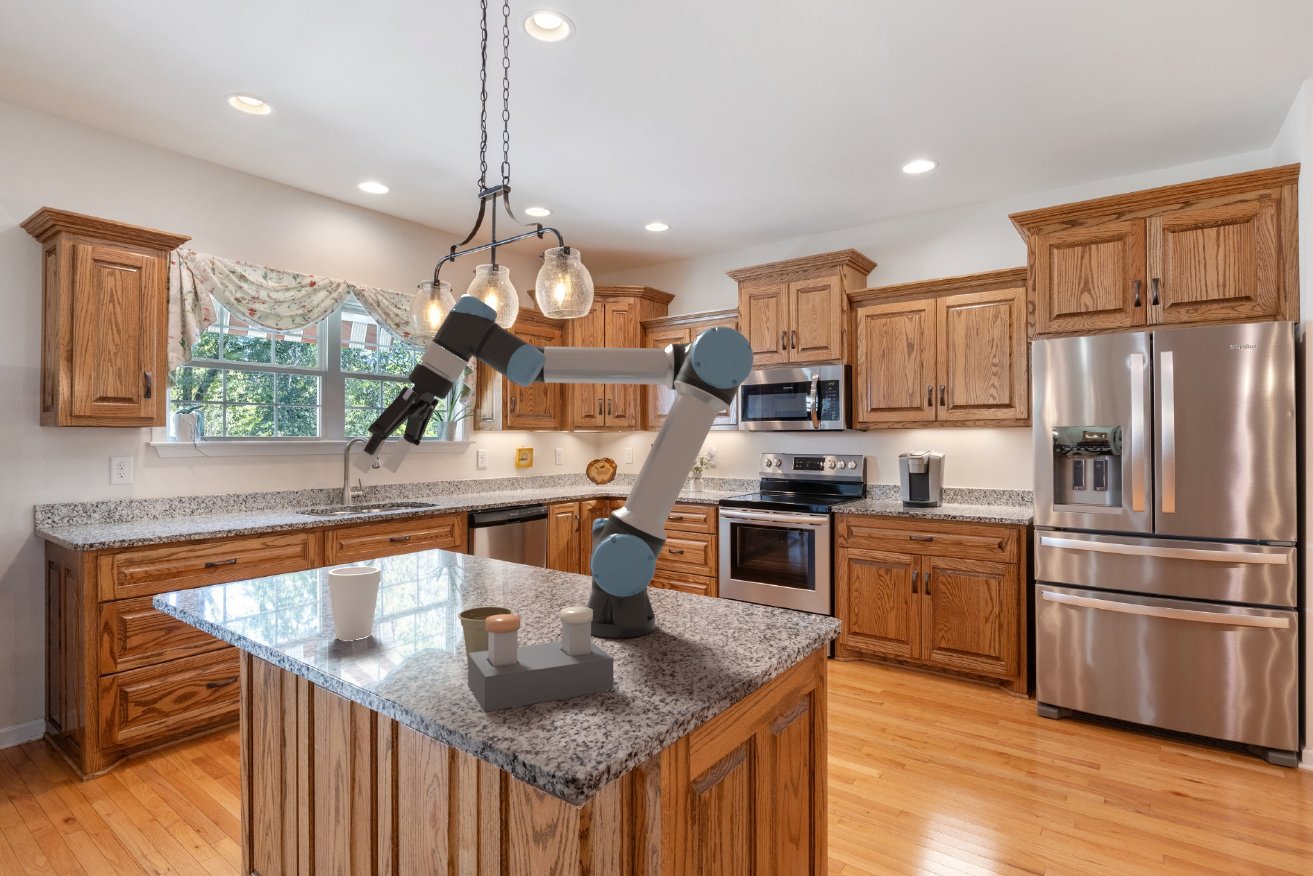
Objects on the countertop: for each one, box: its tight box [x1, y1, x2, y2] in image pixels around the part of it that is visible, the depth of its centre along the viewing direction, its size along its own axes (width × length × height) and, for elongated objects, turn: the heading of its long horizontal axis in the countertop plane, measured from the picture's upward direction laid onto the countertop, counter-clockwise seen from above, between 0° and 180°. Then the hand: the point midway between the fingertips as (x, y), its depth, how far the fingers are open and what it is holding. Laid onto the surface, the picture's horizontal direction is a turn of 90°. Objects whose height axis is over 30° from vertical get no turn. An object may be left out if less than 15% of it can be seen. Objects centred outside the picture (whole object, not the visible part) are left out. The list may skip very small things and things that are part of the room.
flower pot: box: [457, 606, 514, 663], centre depth 118 cm, size 9×9×9 cm
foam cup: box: [327, 565, 382, 641], centre depth 133 cm, size 10×9×13 cm
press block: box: [467, 640, 615, 713], centre depth 106 cm, size 20×12×5 cm, turn 117°
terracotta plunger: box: [486, 614, 521, 667], centre depth 104 cm, size 5×5×7 cm
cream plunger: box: [560, 606, 593, 656], centre depth 109 cm, size 5×5×7 cm
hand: (374, 469), depth 124 cm, fingers open, 13 cm apart
